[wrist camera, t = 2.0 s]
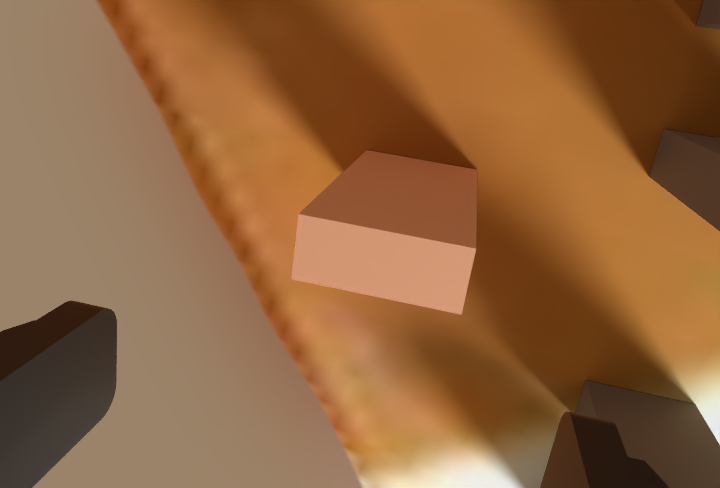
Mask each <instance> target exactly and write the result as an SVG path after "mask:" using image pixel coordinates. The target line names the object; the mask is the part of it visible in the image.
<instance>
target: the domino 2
mask: <svg viewBox="0 0 720 488" xmlns="http://www.w3.org/2000/svg"><path fill="white" fill-rule="evenodd" d="M575 413H576V414H581V415H585V416H590V417H594V418H599V419H603V420H608V421H612V422H614V423H615V424H616V426H617V429H618V432H619V434H620V437H621V440H622V442H623V445H624V448H625V450H626V453H627V456H628V457H631V458H635V459H639V460H644V461H646V463H647V464H648V465H649V466H650V467H651V468H652V469H653V470H654V471H655V472H656V473H657V474H658V476H659V477H660V478H661V479H662V480H663V481H664V482H665V483H666V484H667V485H668V486H669V488H720V445H719V443H718V442H717V440H716V438H715V437H714V435H713V433H712V432H711V430H710V428H709V427H708V425H707V423H706V422H705V420H704V418H703V417H702V415H701V413H700V412H699V410H698V408H697V406H696V405H695V404H692V403H687V402H683V401H678V400H674V399H669V398H664V397H660V396H655V395H651V394H646V393H642V392H637V391H632V390H628V389H623V388H619V387H614V386H610V385H605V384H600V383H596V382H591V381H587V380H585V383H584V386H583V389H582V392H581V395H580V399H579V402H578V405H577V408H576V412H575Z"/></svg>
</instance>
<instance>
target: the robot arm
mask: <svg viewBox="0 0 720 488" xmlns="http://www.w3.org/2000/svg"><path fill="white" fill-rule="evenodd" d="M116 354H117V320H116V316H115V313H114V312H113V311H112V310H111V309H108V308H103V307H98V306H93V305H90V304H85V303H80V302H75V301H68V302H65V303H64V304H62V305H60V306H59V307H57V308H55V309H54V310H52V311H51V312H49V313H47V314H46V315H44V316H42V317H41V318H39V319H38V320H36V321H31V322H28V323H25V324H22V325H19V326H16V327H12V328H10V329H6V330H3V331H1V332H0V488H32V487H33V486H34V485H35V484H36V483H37V482H38V481H39V480H40V479H41V478H42V477H43V476H44V475H45V474H46V473H47V472H48V471H49V470H50V469H51V468H52V467H53V466H54V465H55V464H56V463H58V462H59V460H61V459H62V458H63V457H64V456H65V454H66V453H68V452H69V451H70V450H71V449H72V448H73V447H74V446H75V445H76V444H77V442H79V441H80V440H81V439H82V438H83V437H84V436H85V435H86V434H87V433H88V432H89V431H90V430H91V429H92V428H93V427H94V426H95V425H96V424H97V423H98V422H99V421H100V420H101V419H102V418H103V417H104V415H105V414H106V413H107V411H108V409H109V407H110V405H111V403H112V400H113V398H114V394H115V390H116V362H117V361H116V360H117V355H116ZM541 488H669V486H668V485H667V484H666V483H665V482H664V481H663V480H662V479H661V478H660V477H659V476H658V474H657V473H656V472H655V471H654V470H653V469H652V468H651V467H650V466H649V465H648V464H647V463H646V461H644V460H639V459H635V458H631V457H628V456H627V453H626V450H625V448H624V445H623V442H622V440H621V437H620V434H619V432H618V429H617V426H616V424H615V423H614V422H612V421H608V420H603V419H599V418H594V417H590V416H585V415H581V414H576V413H572V412H565V413H564V415H563V416H562V418H561V421H560V424H559V427H558V430H557V434H556V437H555V440H554V444H553V447H552V450H551V454H550V457H549V460H548V464H547V467H546V471H545V474H544V477H543V481H542V484H541Z"/></svg>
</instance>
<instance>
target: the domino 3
mask: <svg viewBox="0 0 720 488" xmlns="http://www.w3.org/2000/svg"><path fill="white" fill-rule="evenodd" d="M649 177H650V178H652V179H653V180H654V181H656V182H657V183H658V184H659V185H661V186H662V187H663V188H665V189H666V190H667V191H668V192H670V193H671V194H672V195H674V196H675V197H676V198H677V199H679V200H680V201H681V202H683V203H684V204H685V205H687V206H688V207H689V208H690V209H692V210H693V211H694V212H696V213H697V214H698V215H699V216H701V217H702V218H703V219H705V220H706V221H707V222H708V223H710V224H711V225H712V226H714V227H715V228H716V229H718V230H719V231H720V138H717V137H711V136H705V135H699V134H692V133H686V132H680V131H674V130H668V129H663V132H662V135H661V138H660V142H659V145H658V148H657V151H656V155H655V158H654V161H653V164H652V167H651V171H650V174H649Z"/></svg>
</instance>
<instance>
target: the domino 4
mask: <svg viewBox="0 0 720 488" xmlns="http://www.w3.org/2000/svg"><path fill="white" fill-rule="evenodd" d="M696 26H701V27H708V28H715V29H720V0H703V3H702V7H701V10H700V13H699V16H698V20H697V23H696Z"/></svg>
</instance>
